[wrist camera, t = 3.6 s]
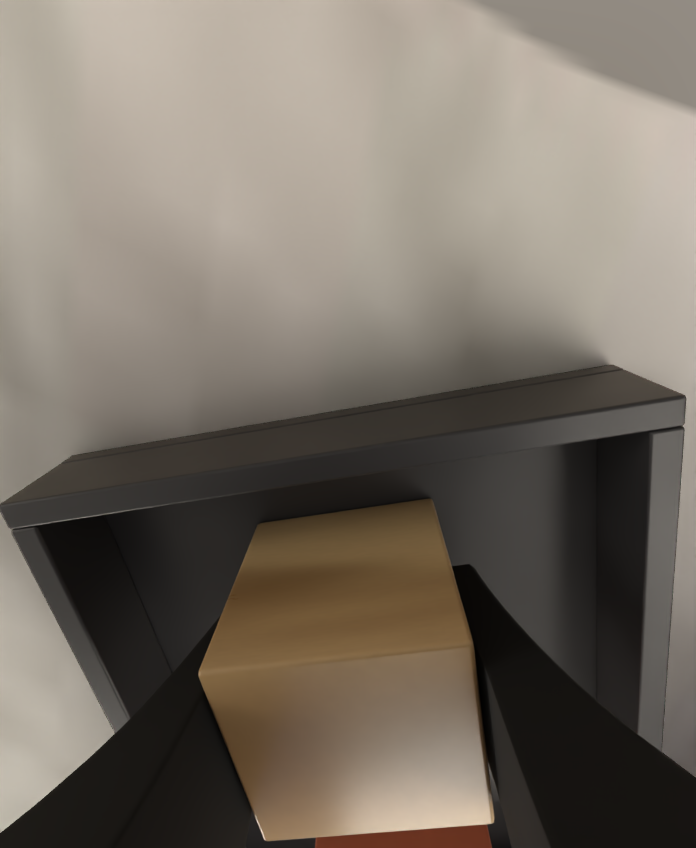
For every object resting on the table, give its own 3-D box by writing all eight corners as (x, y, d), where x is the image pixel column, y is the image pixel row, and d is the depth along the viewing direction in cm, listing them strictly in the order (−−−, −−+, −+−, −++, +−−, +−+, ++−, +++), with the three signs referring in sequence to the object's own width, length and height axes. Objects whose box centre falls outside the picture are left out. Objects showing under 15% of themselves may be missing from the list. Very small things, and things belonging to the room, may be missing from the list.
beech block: (451, 635, 12) (496, 826, 8) (296, 654, 13) (263, 844, 9) (432, 496, 11) (474, 642, 7) (256, 522, 11) (194, 674, 7)
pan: (607, 835, 16) (649, 936, 13) (247, 861, 17) (229, 957, 15) (613, 363, 10) (688, 395, 8) (71, 454, 11) (-5, 505, 9)
